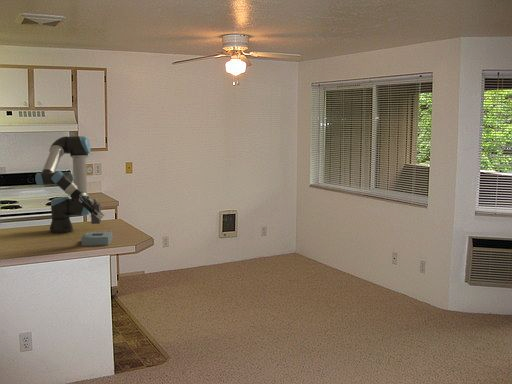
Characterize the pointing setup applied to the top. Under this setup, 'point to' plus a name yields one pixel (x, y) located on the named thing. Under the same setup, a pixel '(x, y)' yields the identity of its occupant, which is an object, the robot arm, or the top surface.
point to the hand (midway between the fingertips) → (102, 217)
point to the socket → (97, 238)
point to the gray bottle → (98, 208)
